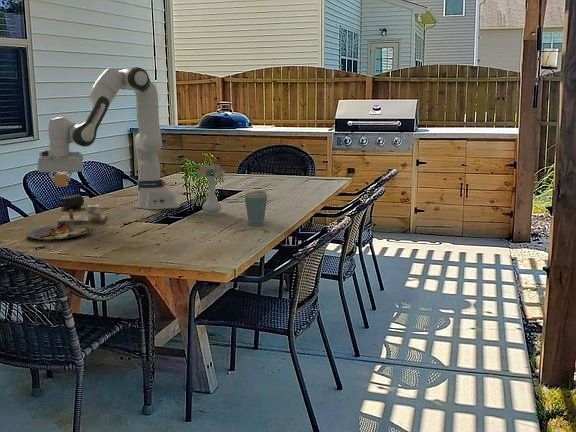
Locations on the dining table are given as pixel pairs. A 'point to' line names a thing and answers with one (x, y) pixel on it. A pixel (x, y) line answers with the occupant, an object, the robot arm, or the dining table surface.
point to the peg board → (84, 217)
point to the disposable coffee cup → (256, 207)
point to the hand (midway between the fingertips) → (61, 181)
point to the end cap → (72, 202)
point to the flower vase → (211, 187)
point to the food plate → (58, 232)
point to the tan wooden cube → (60, 180)
